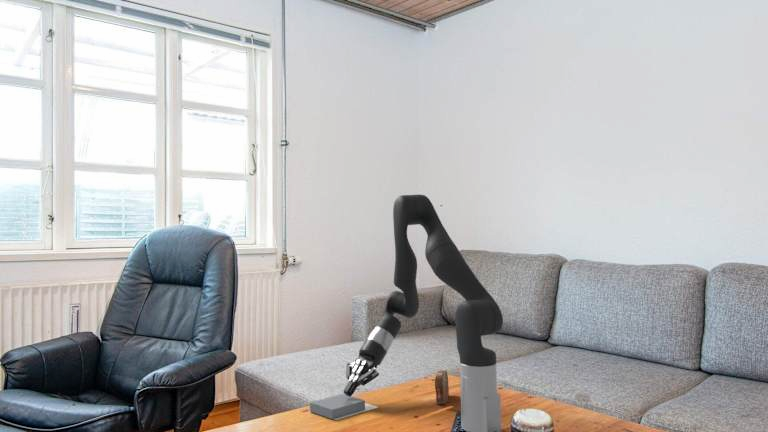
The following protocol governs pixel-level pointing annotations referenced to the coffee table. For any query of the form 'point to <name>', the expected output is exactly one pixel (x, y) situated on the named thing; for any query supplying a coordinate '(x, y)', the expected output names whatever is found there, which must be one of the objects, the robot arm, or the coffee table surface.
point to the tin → (441, 387)
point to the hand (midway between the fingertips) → (346, 394)
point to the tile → (337, 406)
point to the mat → (367, 407)
